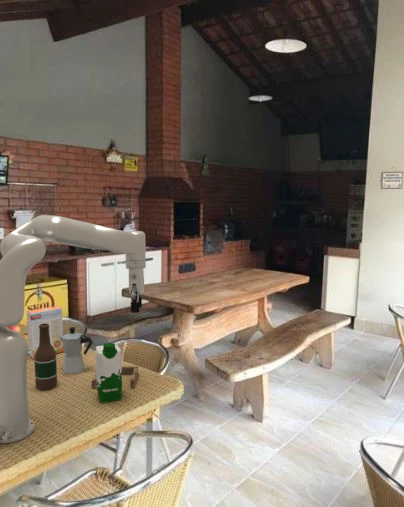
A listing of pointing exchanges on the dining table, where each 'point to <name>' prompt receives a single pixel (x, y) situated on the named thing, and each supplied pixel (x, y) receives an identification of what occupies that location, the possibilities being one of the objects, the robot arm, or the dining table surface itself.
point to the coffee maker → (74, 351)
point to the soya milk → (108, 372)
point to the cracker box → (55, 327)
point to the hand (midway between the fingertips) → (136, 309)
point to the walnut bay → (125, 371)
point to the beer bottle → (45, 361)
